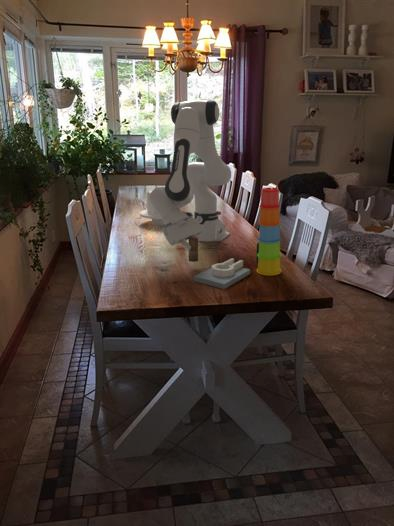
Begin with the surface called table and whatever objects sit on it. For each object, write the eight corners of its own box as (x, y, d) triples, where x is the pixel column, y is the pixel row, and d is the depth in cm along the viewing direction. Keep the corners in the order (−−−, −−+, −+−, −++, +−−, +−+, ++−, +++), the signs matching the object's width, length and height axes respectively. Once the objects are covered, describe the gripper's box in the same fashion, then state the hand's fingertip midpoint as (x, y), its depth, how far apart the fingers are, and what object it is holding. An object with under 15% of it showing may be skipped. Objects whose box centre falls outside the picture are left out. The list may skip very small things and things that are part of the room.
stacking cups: (275, 277, 175) (281, 191, 164) (252, 272, 180) (256, 188, 169) (285, 270, 183) (291, 187, 172) (262, 266, 189) (267, 185, 177)
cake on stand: (143, 218, 272) (142, 187, 266) (183, 219, 271) (183, 188, 265) (136, 228, 248) (135, 195, 242) (180, 229, 247) (180, 195, 241)
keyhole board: (223, 266, 188) (223, 256, 186) (251, 272, 180) (252, 262, 179) (193, 280, 171) (193, 270, 170) (224, 289, 164) (224, 277, 162)
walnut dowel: (192, 258, 187) (192, 235, 184) (200, 259, 185) (200, 237, 182) (186, 260, 184) (186, 237, 181) (194, 262, 182) (194, 239, 179)
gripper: (163, 221, 174) (183, 249, 172) (193, 211, 190) (212, 237, 188) (155, 230, 178) (175, 257, 176) (185, 220, 194) (203, 245, 192)
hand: (194, 247), depth 182 cm, fingers closed on walnut dowel, 4 cm apart
